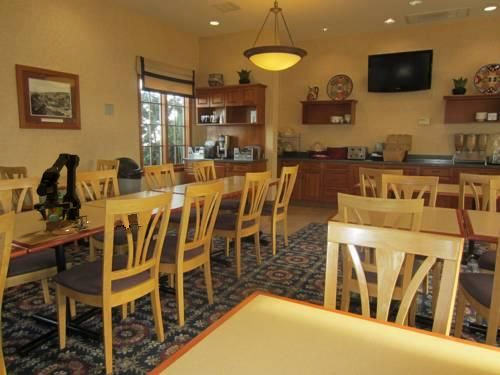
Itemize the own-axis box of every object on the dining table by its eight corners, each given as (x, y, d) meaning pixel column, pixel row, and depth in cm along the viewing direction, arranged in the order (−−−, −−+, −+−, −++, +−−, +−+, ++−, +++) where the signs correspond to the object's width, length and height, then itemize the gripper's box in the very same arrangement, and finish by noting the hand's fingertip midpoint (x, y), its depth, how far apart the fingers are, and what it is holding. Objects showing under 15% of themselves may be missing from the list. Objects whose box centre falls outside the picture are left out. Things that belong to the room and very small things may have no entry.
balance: (70, 226, 212) (69, 213, 211) (78, 224, 216) (77, 211, 215) (85, 230, 203) (84, 216, 202) (93, 228, 208) (93, 215, 206)
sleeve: (50, 226, 212) (49, 219, 211) (62, 225, 213) (62, 219, 212) (46, 229, 205) (45, 222, 205) (59, 228, 206) (58, 221, 206)
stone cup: (140, 221, 225) (139, 197, 222) (143, 226, 214) (142, 200, 212) (113, 223, 219) (112, 198, 216) (115, 228, 208) (114, 202, 206)
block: (52, 226, 211) (51, 214, 210) (59, 226, 211) (58, 214, 210) (49, 228, 207) (48, 216, 206) (57, 228, 208) (56, 216, 206)
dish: (68, 228, 208) (68, 226, 208) (79, 231, 202) (79, 229, 201) (48, 232, 199) (48, 230, 199) (59, 236, 193) (59, 234, 192)
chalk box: (48, 216, 237) (46, 193, 235) (51, 213, 246) (50, 190, 243) (64, 215, 239) (62, 192, 237) (67, 212, 248) (65, 190, 246)
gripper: (28, 196, 197) (30, 225, 199) (66, 195, 200) (68, 223, 202) (36, 192, 208) (38, 220, 210) (72, 192, 211) (73, 219, 213)
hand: (54, 220), depth 209 cm, fingers open, 9 cm apart
